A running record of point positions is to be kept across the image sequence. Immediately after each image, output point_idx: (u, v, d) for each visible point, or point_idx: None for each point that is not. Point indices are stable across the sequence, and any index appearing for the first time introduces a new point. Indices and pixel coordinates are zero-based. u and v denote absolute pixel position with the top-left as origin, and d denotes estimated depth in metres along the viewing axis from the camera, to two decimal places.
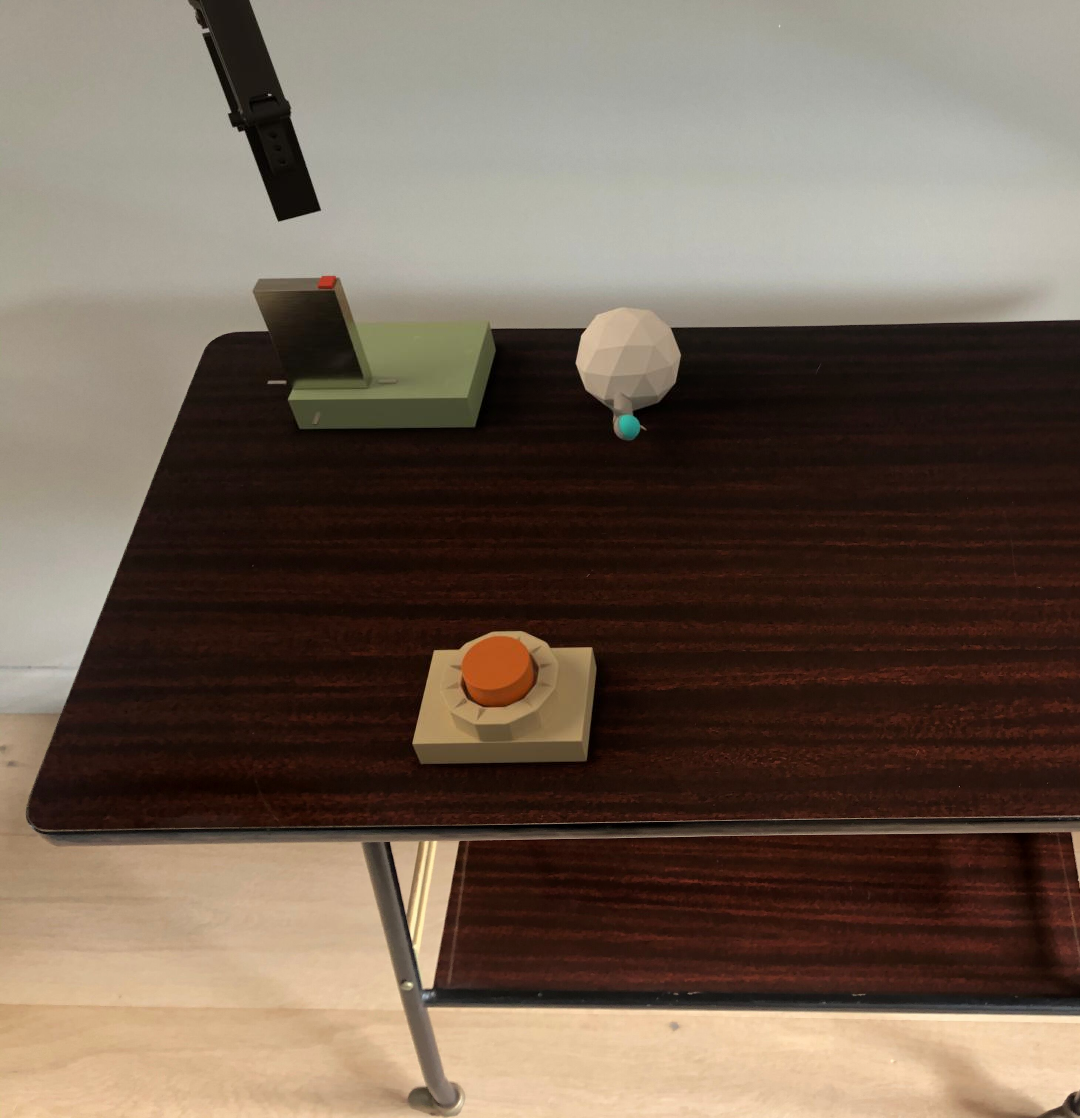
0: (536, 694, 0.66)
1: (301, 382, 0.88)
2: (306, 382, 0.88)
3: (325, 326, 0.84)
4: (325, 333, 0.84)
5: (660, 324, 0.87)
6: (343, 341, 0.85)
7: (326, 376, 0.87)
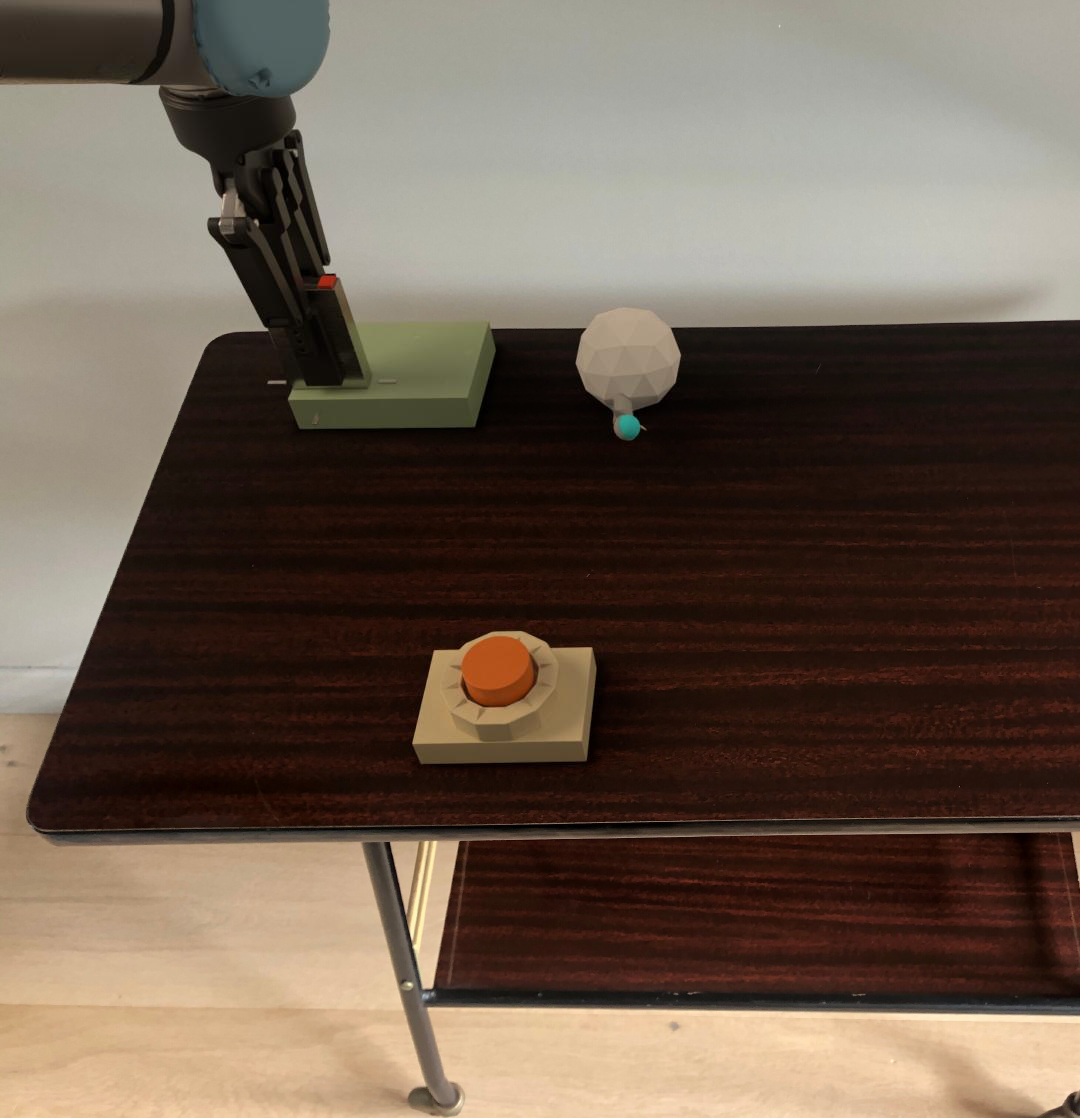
0: (536, 694, 0.66)
1: (301, 382, 0.88)
2: None
3: (325, 326, 0.84)
4: None
5: (660, 324, 0.87)
6: (343, 341, 0.85)
7: None
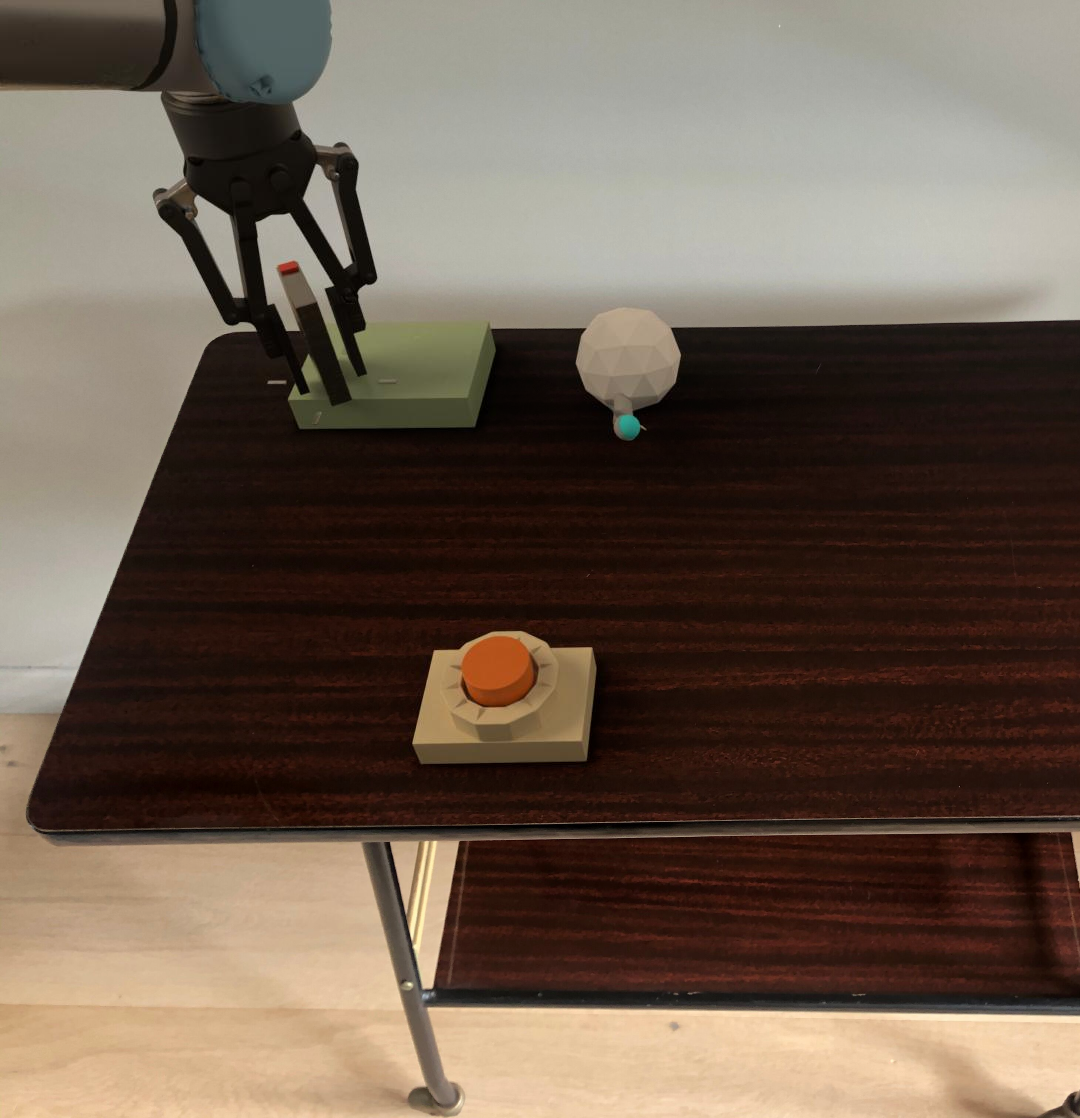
0: (536, 694, 0.66)
1: None
2: None
3: None
4: None
5: (660, 324, 0.87)
6: None
7: None
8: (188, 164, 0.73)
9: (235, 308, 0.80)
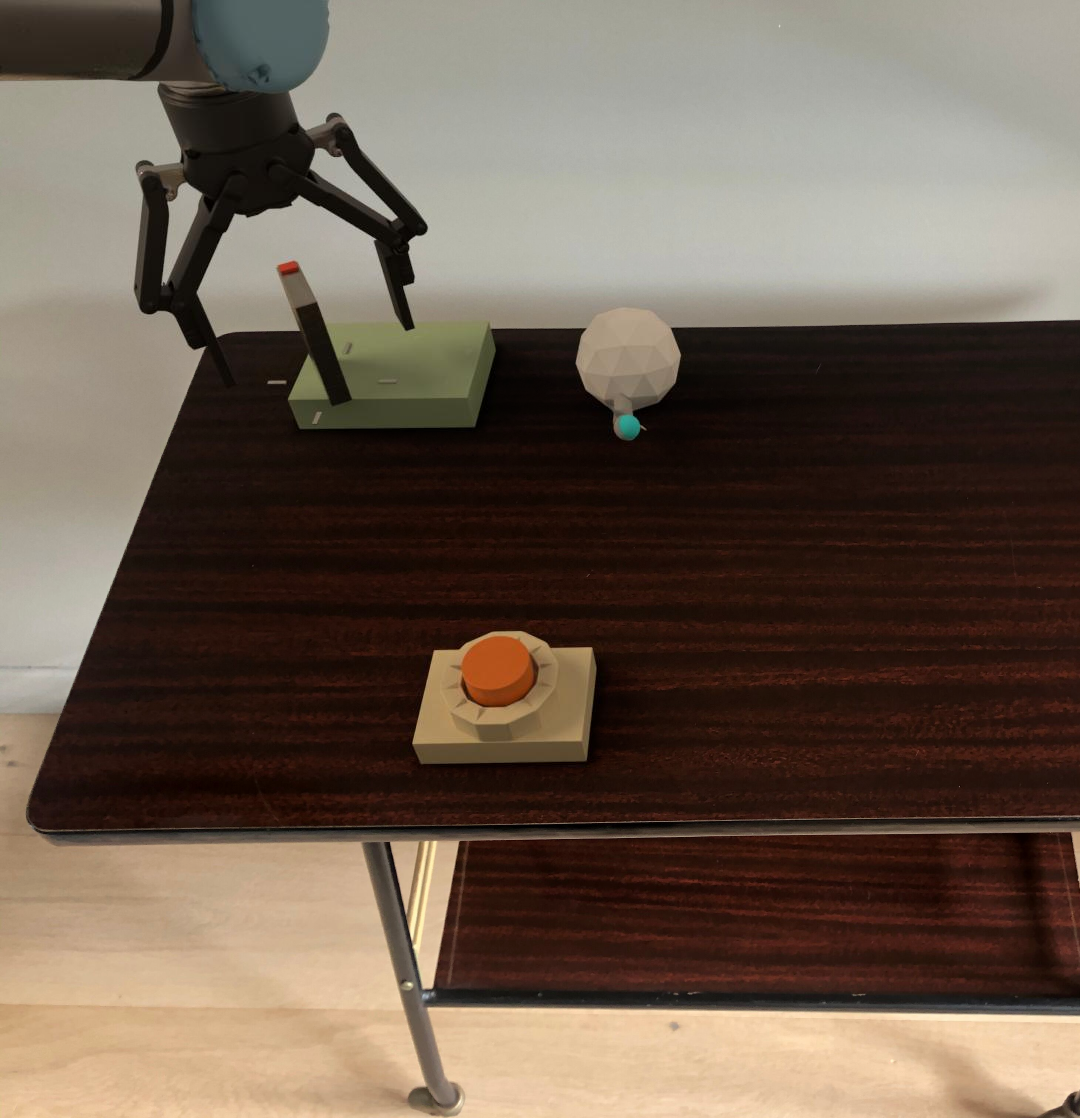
0: (536, 694, 0.66)
1: None
2: None
3: None
4: None
5: (660, 324, 0.87)
6: None
7: None
8: (185, 157, 0.72)
9: (158, 299, 0.77)
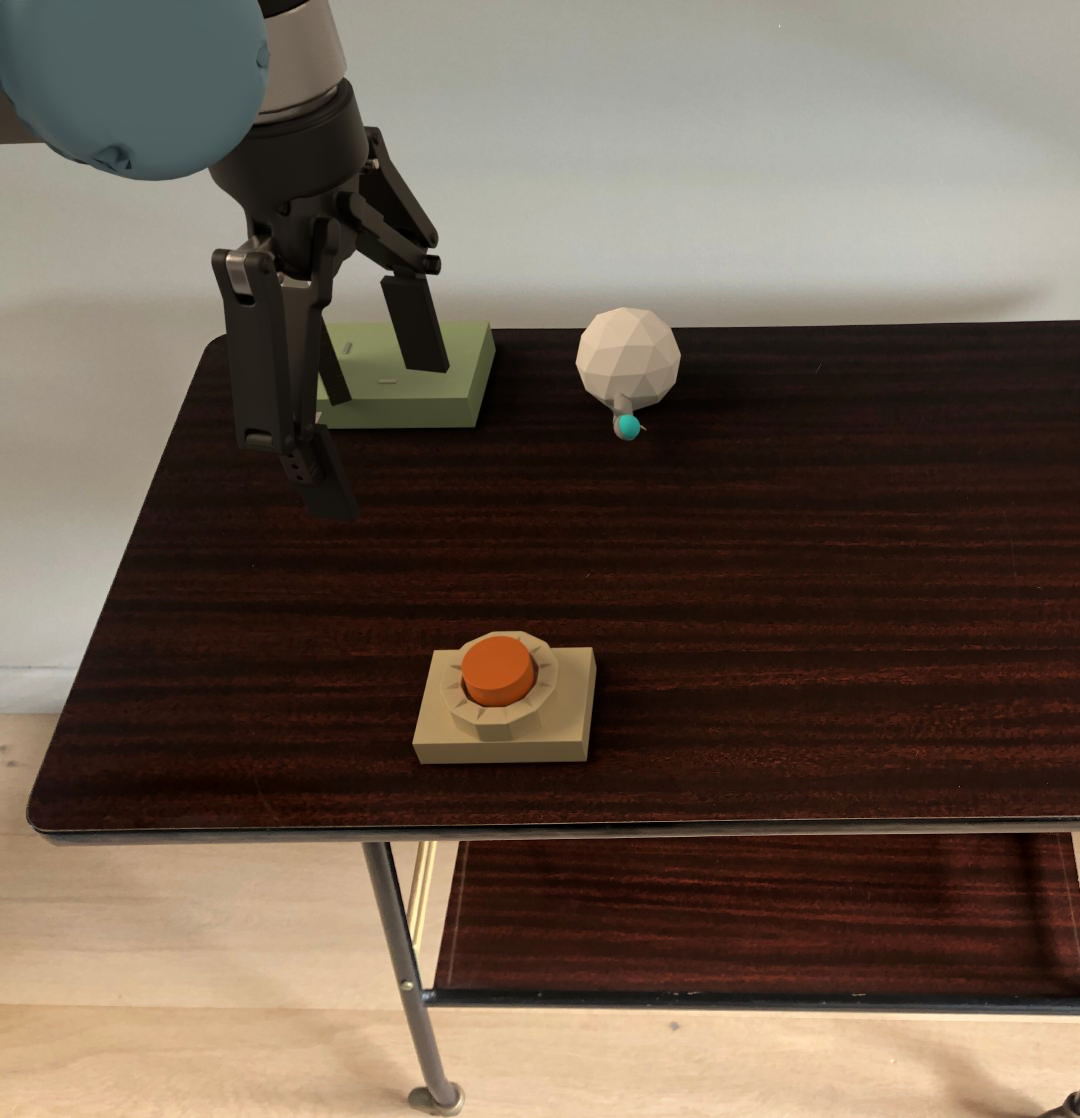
0: (536, 694, 0.66)
1: None
2: None
3: None
4: None
5: (660, 324, 0.87)
6: None
7: None
8: (275, 219, 0.53)
9: (293, 428, 0.56)
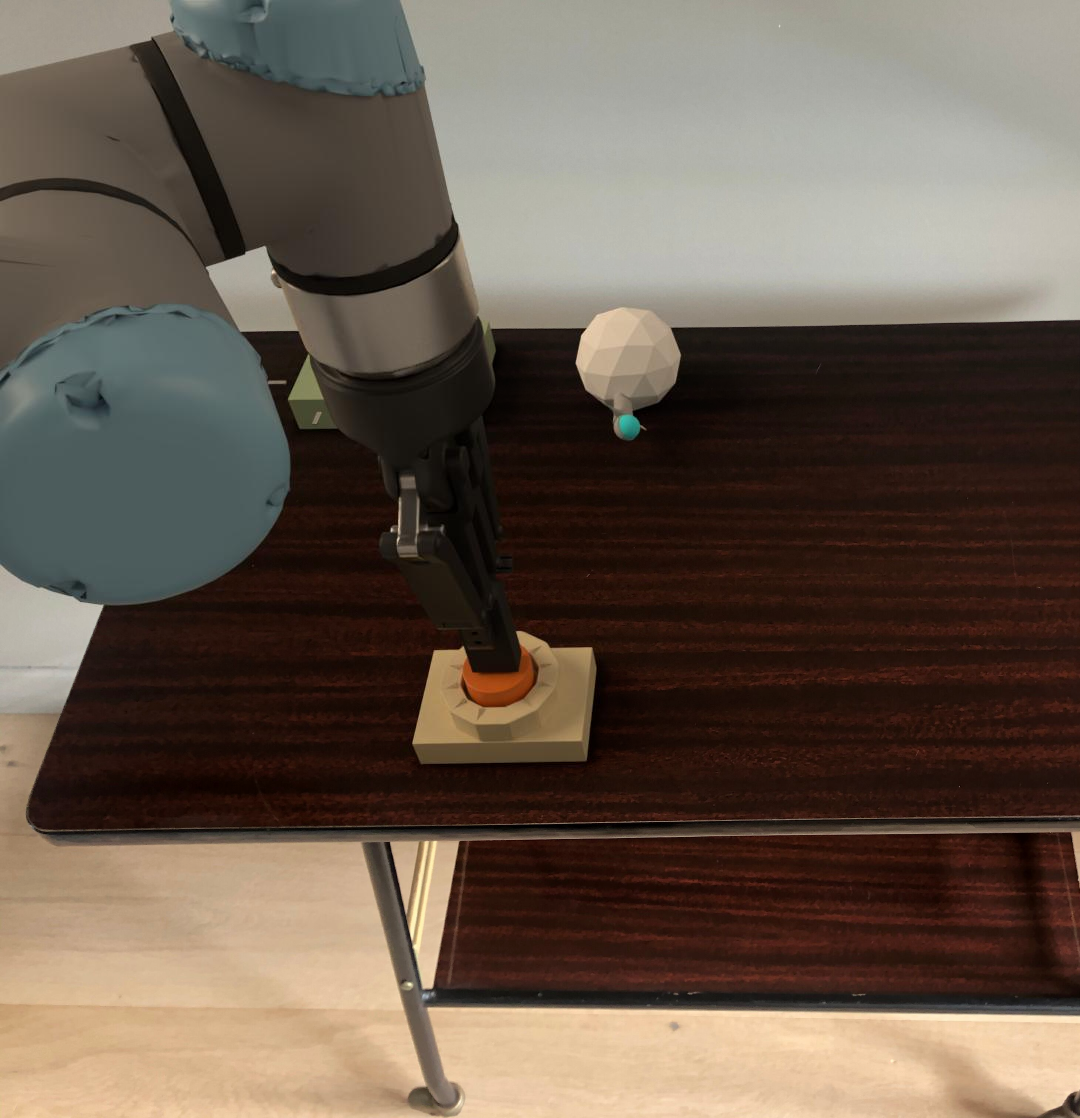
0: (536, 694, 0.66)
1: None
2: None
3: None
4: None
5: (660, 324, 0.87)
6: None
7: None
8: (418, 464, 0.50)
9: (481, 602, 0.58)
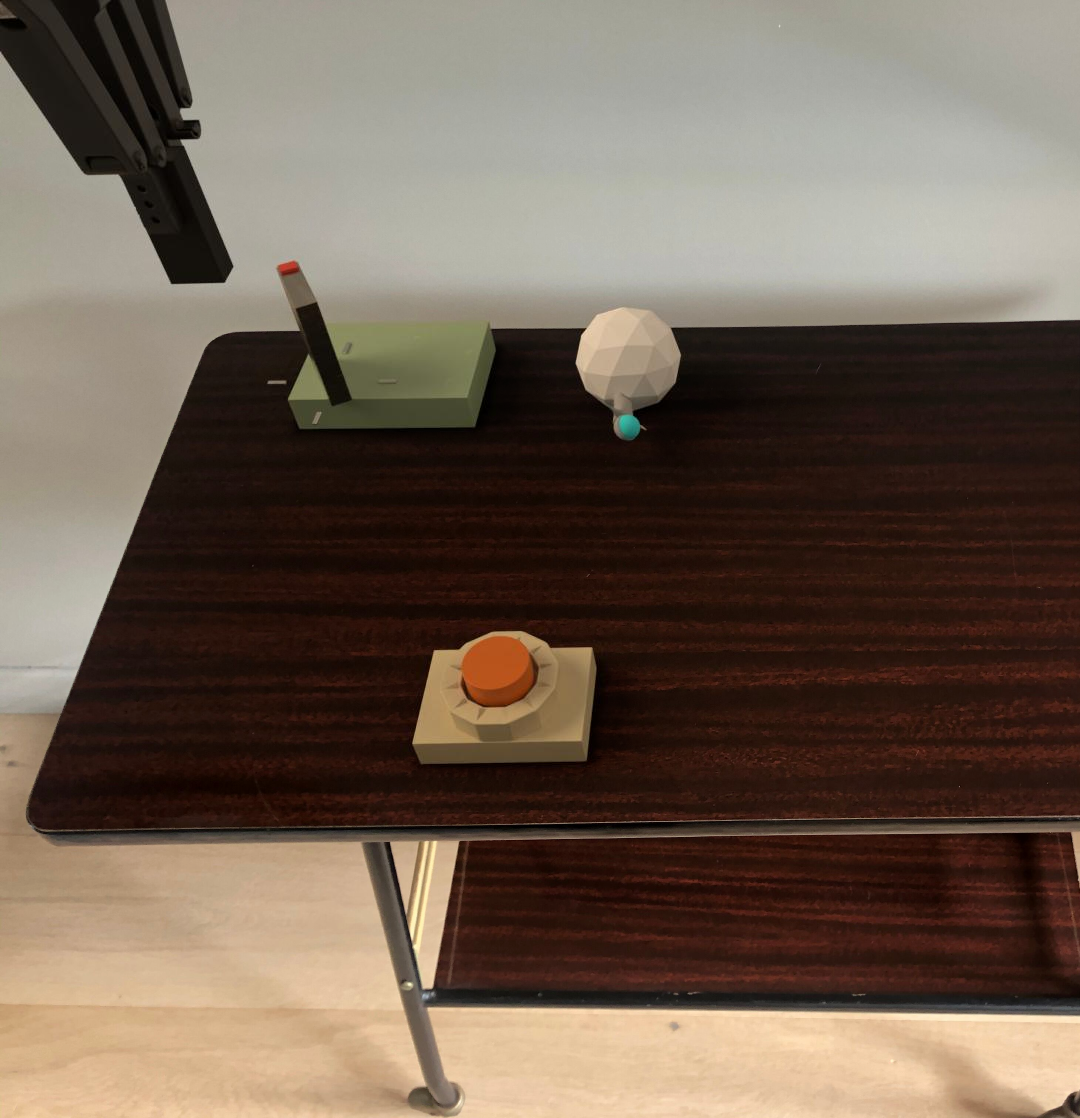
0: (536, 694, 0.66)
1: None
2: None
3: None
4: None
5: (660, 324, 0.87)
6: None
7: None
8: None
9: (135, 139, 0.49)
